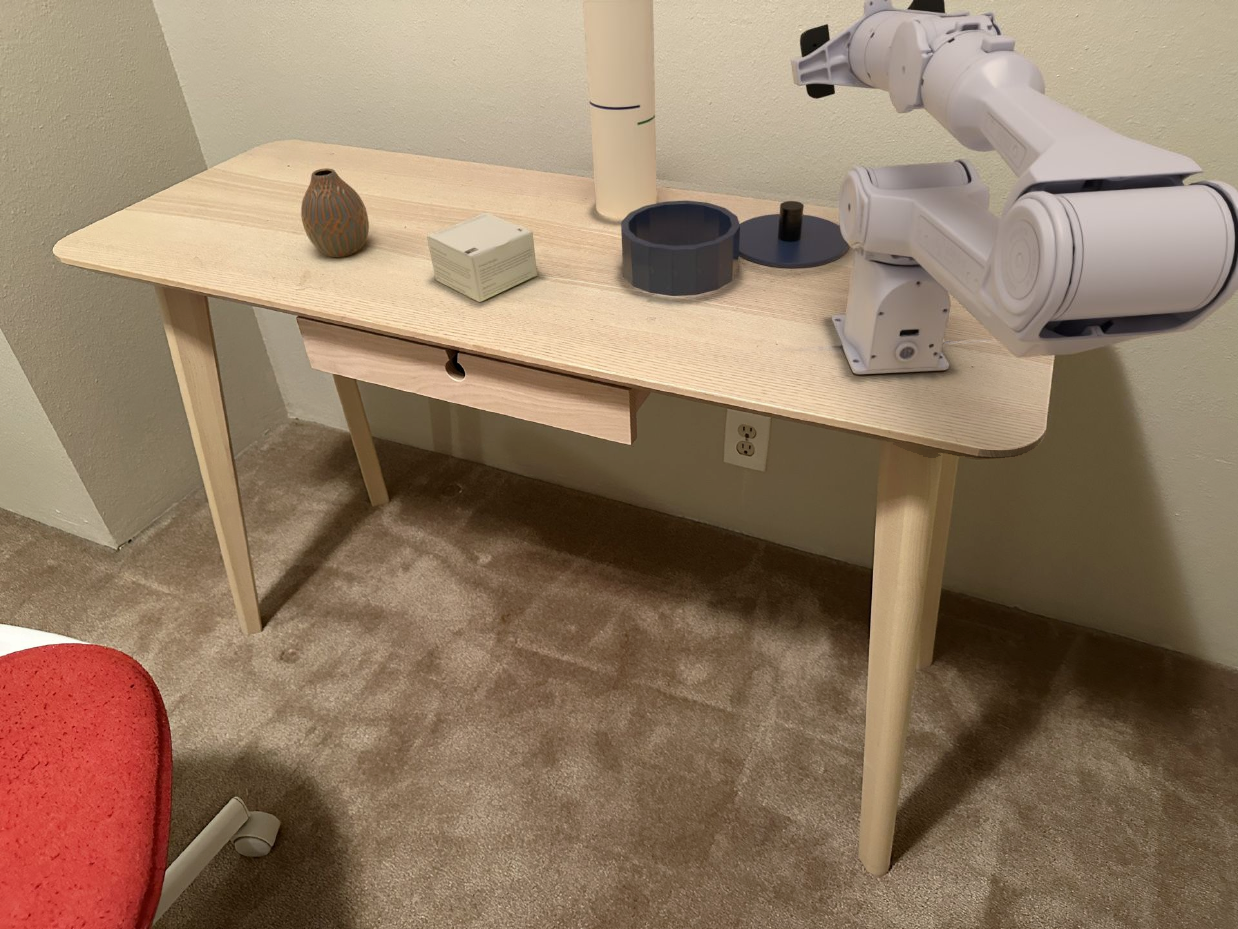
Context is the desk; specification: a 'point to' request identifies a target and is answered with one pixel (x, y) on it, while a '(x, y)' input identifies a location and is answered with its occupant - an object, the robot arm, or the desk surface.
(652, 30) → the cylindrical container
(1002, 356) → the desk surface
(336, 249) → the vase
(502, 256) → the small box
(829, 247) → the tin lid
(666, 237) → the tin
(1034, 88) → the robot arm
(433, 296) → the desk surface
